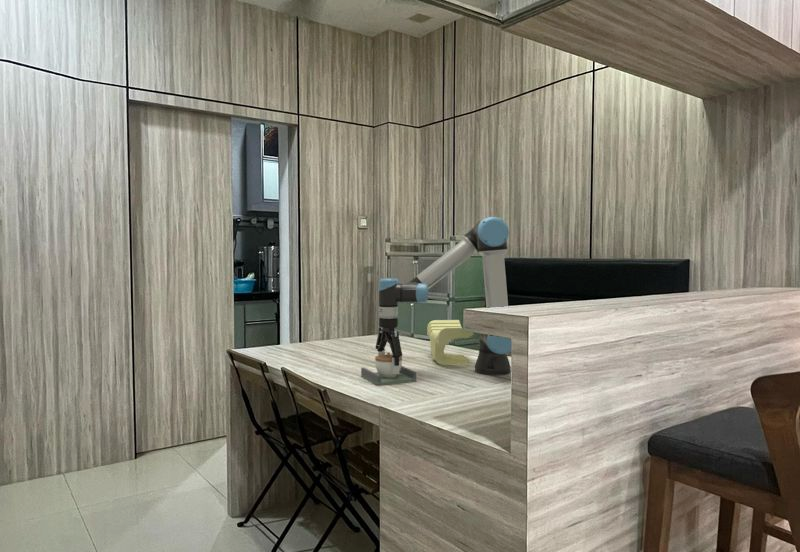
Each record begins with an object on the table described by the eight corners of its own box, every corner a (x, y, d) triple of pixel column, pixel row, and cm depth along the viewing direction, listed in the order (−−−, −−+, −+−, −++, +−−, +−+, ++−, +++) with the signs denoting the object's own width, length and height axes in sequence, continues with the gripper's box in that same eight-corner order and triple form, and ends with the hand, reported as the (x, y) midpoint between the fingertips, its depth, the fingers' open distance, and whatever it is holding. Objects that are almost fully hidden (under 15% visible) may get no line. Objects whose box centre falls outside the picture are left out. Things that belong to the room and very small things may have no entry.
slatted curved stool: (427, 356, 263) (427, 320, 263) (458, 355, 265) (459, 319, 264) (438, 368, 233) (438, 328, 233) (474, 367, 235) (474, 327, 235)
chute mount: (397, 373, 224) (397, 364, 224) (416, 381, 209) (416, 372, 209) (361, 376, 217) (361, 367, 217) (378, 385, 201) (378, 376, 201)
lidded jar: (371, 378, 209) (371, 354, 208) (379, 372, 219) (379, 349, 219) (398, 379, 206) (398, 355, 206) (404, 373, 217) (404, 351, 216)
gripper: (367, 314, 221) (367, 365, 222) (393, 321, 199) (393, 377, 200) (384, 313, 225) (384, 364, 225) (411, 320, 202) (410, 375, 203)
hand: (388, 370), depth 213 cm, fingers open, 13 cm apart
